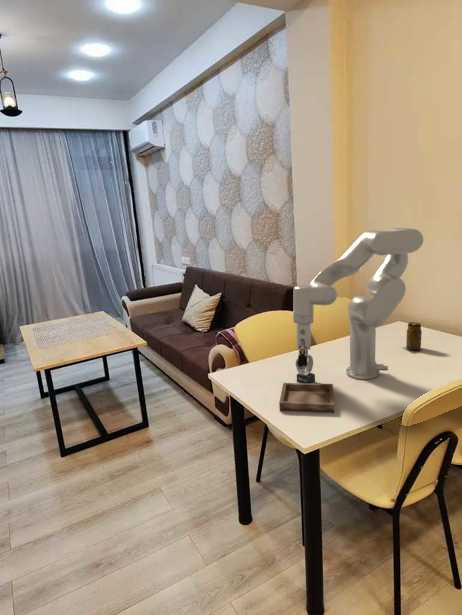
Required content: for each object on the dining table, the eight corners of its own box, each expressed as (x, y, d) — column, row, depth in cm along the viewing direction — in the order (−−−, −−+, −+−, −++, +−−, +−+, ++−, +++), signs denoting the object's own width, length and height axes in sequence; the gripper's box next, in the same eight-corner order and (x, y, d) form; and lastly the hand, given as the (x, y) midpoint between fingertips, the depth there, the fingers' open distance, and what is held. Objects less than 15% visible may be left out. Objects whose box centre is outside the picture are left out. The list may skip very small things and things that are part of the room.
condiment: (415, 345, 189) (416, 320, 186) (427, 351, 181) (428, 325, 178) (401, 347, 188) (402, 322, 185) (413, 353, 180) (414, 327, 177)
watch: (294, 383, 159) (293, 357, 156) (305, 376, 165) (304, 350, 162) (306, 387, 155) (305, 360, 153) (317, 379, 161) (317, 353, 158)
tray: (332, 391, 150) (332, 383, 149) (334, 413, 135) (334, 404, 134) (283, 390, 154) (283, 382, 153) (279, 411, 139) (279, 402, 138)
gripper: (313, 324, 145) (312, 369, 149) (313, 312, 161) (313, 353, 165) (291, 324, 146) (291, 368, 150) (294, 312, 163) (294, 352, 167)
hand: (303, 360), depth 158 cm, fingers open, 9 cm apart
